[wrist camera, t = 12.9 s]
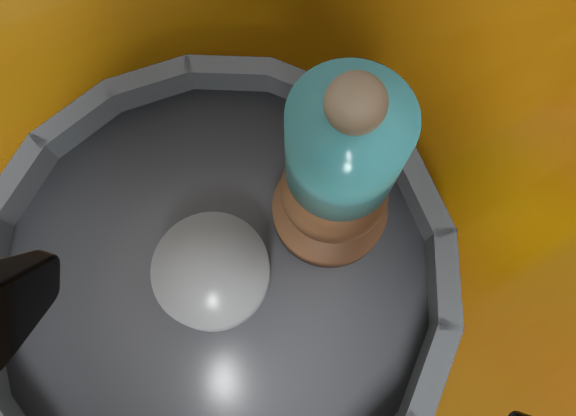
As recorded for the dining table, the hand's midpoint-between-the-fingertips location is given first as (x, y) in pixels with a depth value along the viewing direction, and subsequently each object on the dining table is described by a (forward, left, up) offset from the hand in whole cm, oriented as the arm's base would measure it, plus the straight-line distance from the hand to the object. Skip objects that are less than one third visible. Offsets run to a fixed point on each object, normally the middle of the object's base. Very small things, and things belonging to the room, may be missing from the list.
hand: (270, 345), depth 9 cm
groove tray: (-3, +4, -13) cm, 14 cm away
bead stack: (+2, +7, -12) cm, 14 cm away
